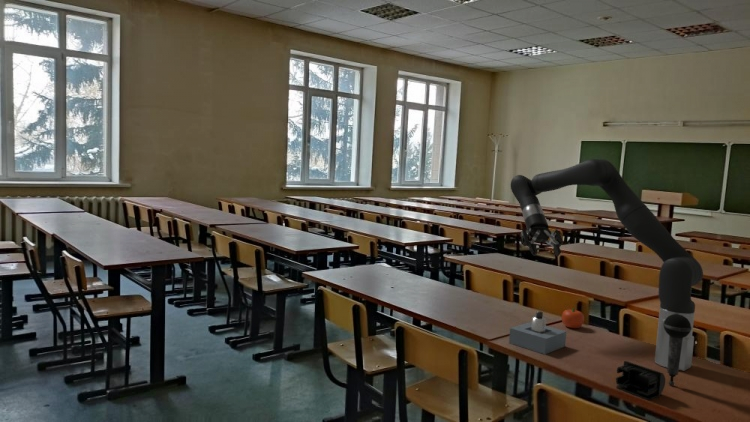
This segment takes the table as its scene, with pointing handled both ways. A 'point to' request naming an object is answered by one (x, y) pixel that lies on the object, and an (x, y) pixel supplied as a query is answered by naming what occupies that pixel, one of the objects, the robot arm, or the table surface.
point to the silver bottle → (538, 323)
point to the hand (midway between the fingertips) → (547, 254)
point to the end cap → (640, 381)
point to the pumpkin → (572, 318)
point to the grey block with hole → (537, 338)
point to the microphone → (675, 341)
